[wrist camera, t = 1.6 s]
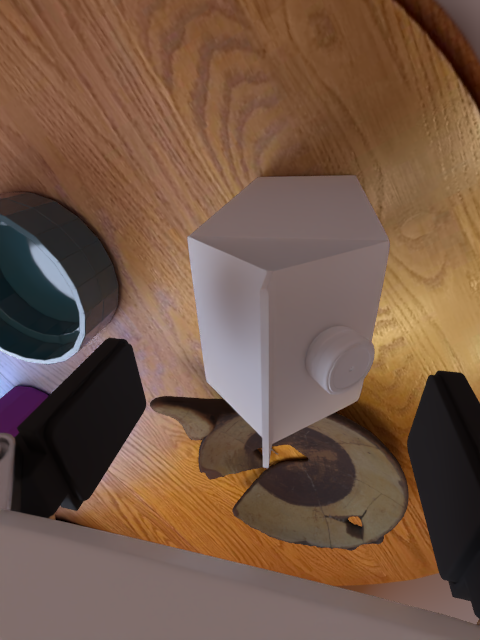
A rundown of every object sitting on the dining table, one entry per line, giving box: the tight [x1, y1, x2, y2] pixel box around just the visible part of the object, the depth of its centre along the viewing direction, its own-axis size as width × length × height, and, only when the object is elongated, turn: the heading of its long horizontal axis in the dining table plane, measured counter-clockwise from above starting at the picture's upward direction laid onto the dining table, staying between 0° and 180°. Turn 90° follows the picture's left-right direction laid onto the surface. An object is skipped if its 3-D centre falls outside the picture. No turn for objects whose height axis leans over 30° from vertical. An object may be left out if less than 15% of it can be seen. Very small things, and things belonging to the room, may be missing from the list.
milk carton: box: [188, 175, 390, 468], centre depth 18 cm, size 7×7×19 cm
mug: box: [0, 386, 49, 437], centre depth 42 cm, size 9×16×15 cm, turn 24°
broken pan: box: [150, 396, 408, 550], centre depth 35 cm, size 22×30×8 cm
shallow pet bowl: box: [0, 192, 119, 365], centre depth 31 cm, size 15×15×6 cm
